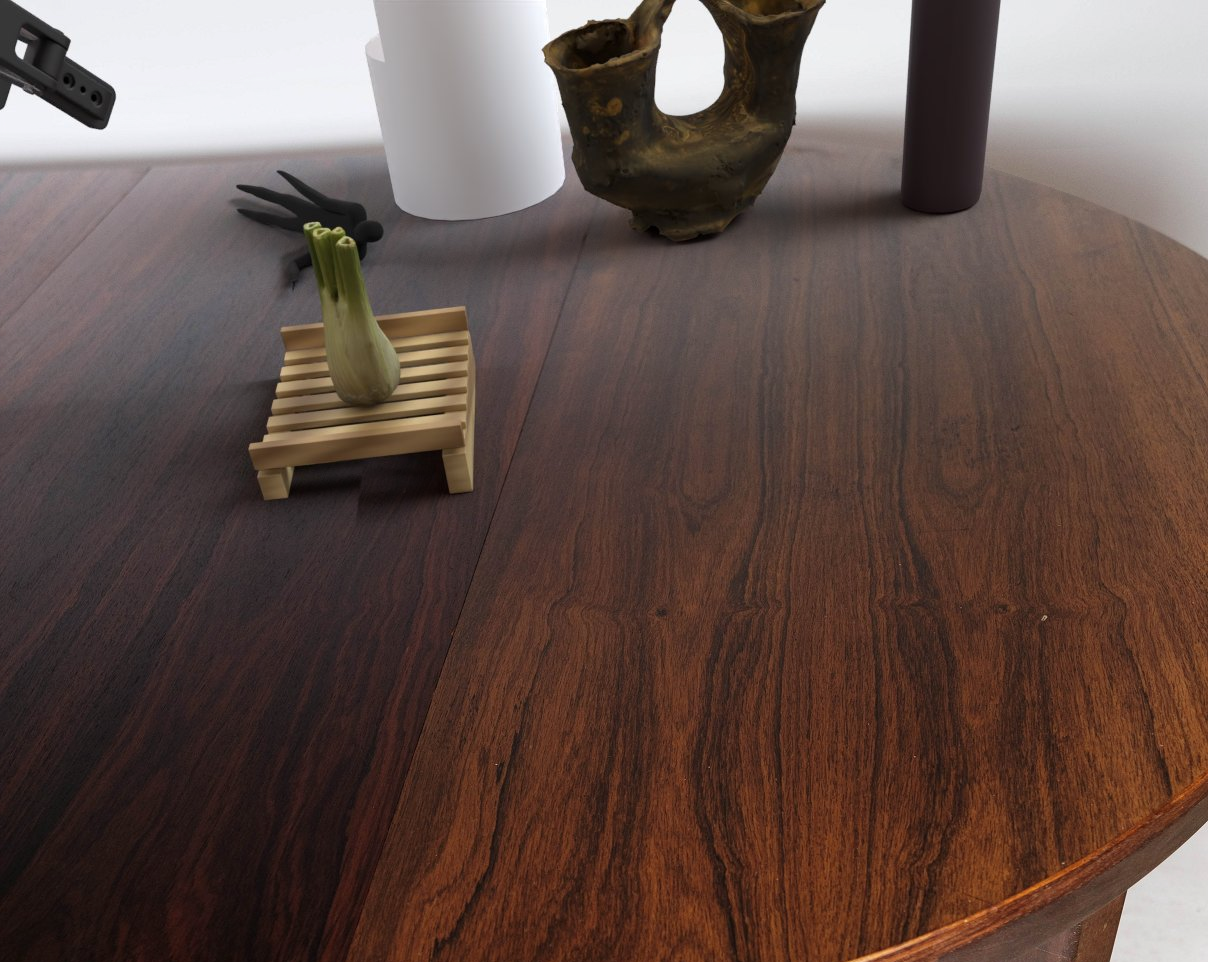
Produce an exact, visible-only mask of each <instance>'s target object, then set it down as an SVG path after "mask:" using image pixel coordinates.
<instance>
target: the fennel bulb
mask: <svg viewBox="0 0 1208 962" xmlns="http://www.w3.org/2000/svg"><path fill="white" fill-rule="evenodd" d="M303 227H304V229H303V230H304V233H303V234H304V238H305V241H306V245H307V248H308V249H307V250H308V251H310V255H311V259H312V263H311V264H312V268H313V273H314V276H315V280H316V286H317V291H318V296H319V300H320V301H319V302H320V311H321V318H322V323H323V325H324V335H325V346H326V354H327V361H326V362H327V364H328V368H329V373H330V376H329V377H331V380H332V382H333V385H334V387H335V388H336V391H335V393H337V395H338V397H339V398H340V399H341V400H342V401H344V402H345V403H348V404H350V405H354V406H353V407H359V406H369V405H377V404H380V403H383V402H382V401H384V400H386V399H387V398H388V397H390V396H391V395H392V393H393V391H394V390H395V389H396V388H397V386H398V385H400V384H399V381H400V375H401V370H400V369H401V368H400V362H399V359H398V356H397V354H398V353H396V352H395V350H394V348H393V346H392V344H391V343H390V341H389V340H390V339H388V338H387V337H386V336H385V334H384V333H383V331H382V330H381V329H380V327H379V325H378V323H377V321H376V319H375V318H374V313H373V309H372V306H371V304H370V303H371V302H370V300H369V297H368V293H367V288H366V283H365V278H364V274H363V270H362V266H361V261H360V260H359V256H358V251H357V247H356V243H355V241H354V240H353V239H351V238H350V237H348V236H346V234H345V231H344V230H343V229H342V228H341V227H336V228H335V229H334V230H332V231H331V230H330V229H329V228H322V226H321V224H320V222H312V223H308V224H305V225H304V226H303ZM379 402H380V403H379Z"/></svg>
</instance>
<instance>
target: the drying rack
mask: <svg viewBox="0 0 1208 962" xmlns="http://www.w3.org/2000/svg"><path fill="white" fill-rule="evenodd" d="M374 318H375V319H376V321H377V323H378V325H379V327H380V329H381V330H382V331H383V333H384V334H385V336H386V337H387V338H388V340H389V341H390V343H391V344H392V346H393V348H394V350H395V352H396V354H397V356H398V359H399V362H400V370H401V375H400V381H399V384H398V386H397V388H396V389H395V390H394V391H393V393H392V395H391V396H390V397H388V398H387V399H386V400H384V401H382V402H379V403H376V404H371V405H369V406H354V405H350V404H348V403H345V402H344V401H342V400H341V399H340V398H339V397H338V395H337V393H336V388H335V387H334V385H333V382H332V380H331V377H330V373H329V368H328V364H327V354H326V346H325V335H324V325H323V322H316V323H306V324H298V325H289V326H282V327H281V329H280V336H281V339H282V342H283V346H284V349H285V351H286V352H285V354H284V358H283V363H284V366H282V367H281V370H280V372H279V373H280V374H279V378H280V381H281V382H277V385H276V389H275V396H276V399H273V401H272V405H271V409H270V410H271V414H272V416H268V420H267V423H266V430H267V433H268V434H264V435H263V439H262V441H260V442H252V443H249V446H248V453H249V456H250V460H251V462H252V465H253V468H254V471H258V473H257V477H256V478H257V481H258V485H259V487H260V491H261V493H262V497H263V500H264V501H270V500H279V499H280V500H281V499H288V498H289V494H290V489H291V486H292V480H293V477H294V471H295V467H300V466H308V465H316V464H317V465H318V464H326V463H334V462H335V463H336V462H343V461H351V460H361V459H371V458H378V457H386V456H395V455H404V454H405V455H406V454H411V453H412V454H413V453H421V452H430V451H438V450H442V453H441V457H442V462H443V463H442V464H443V467H444V472H445V476H446V483H447V487H448V491H449V494H451V495H452V494H459V493H469V492H473V491H474V464H475V463H474V462H475V461H474V458H475V422H476V421H475V419H476V418H475V415H476V414H475V413H476V412H475V411H476V372H477V371H476V369H477V367H476V361H475V356H474V355H475V354H474V349H473V344H472V338H471V333H470V331H469V320H468V315H467V309H466V306H465V305H459V306H453V307H445V308H444V307H443V308H435V309H428V310H427V309H426V310H419V311H409V312H401V313H393V314H384V315H383V314H382V315H375V316H374ZM434 414H435V415H434ZM425 415H426V416H425ZM406 417H408V418H406ZM389 419H390V420H389ZM380 420H381V421H380ZM364 422H365V423H364ZM321 427H322V428H321Z"/></svg>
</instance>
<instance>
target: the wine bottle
mask: <svg viewBox="0 0 1208 962" xmlns="http://www.w3.org/2000/svg"><path fill="white" fill-rule="evenodd" d="M1001 2H1002V0H911V11H910V12H911V13H910V28H909V43H908V45H909V46H908V62H907V78H906V97H905V111H904V126H903V127H904V128H903V129H904V130H903V146H902V148H903V149H902V161H901V162H902V163H901V179H900V196H901V201H902V203H903V204H904V205H905V206H906V207H908V208H910V209H913V210H916V211H919V212H924V213H931V214H933V213H935V214H942V213H943V214H944V213H945V214H946V213H952V212H958V211H961V210H965V209H968V208H971V207H972V206H974V205H976V203H978V201H979V200H980V197H981V194H982V189H983V183H984V182H983V181H984V180H983V179H984V173H985V172H984V171H985V160H986V149H987V141H988V131H989V120H990V113H991V112H990V111H991V103H992V90H993V81H994V72H995V71H994V70H995V61H996V54H997V53H996V52H997V41H998V33H999V32H998V31H999V22H1000V12H1001V4H1002V3H1001Z"/></svg>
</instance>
